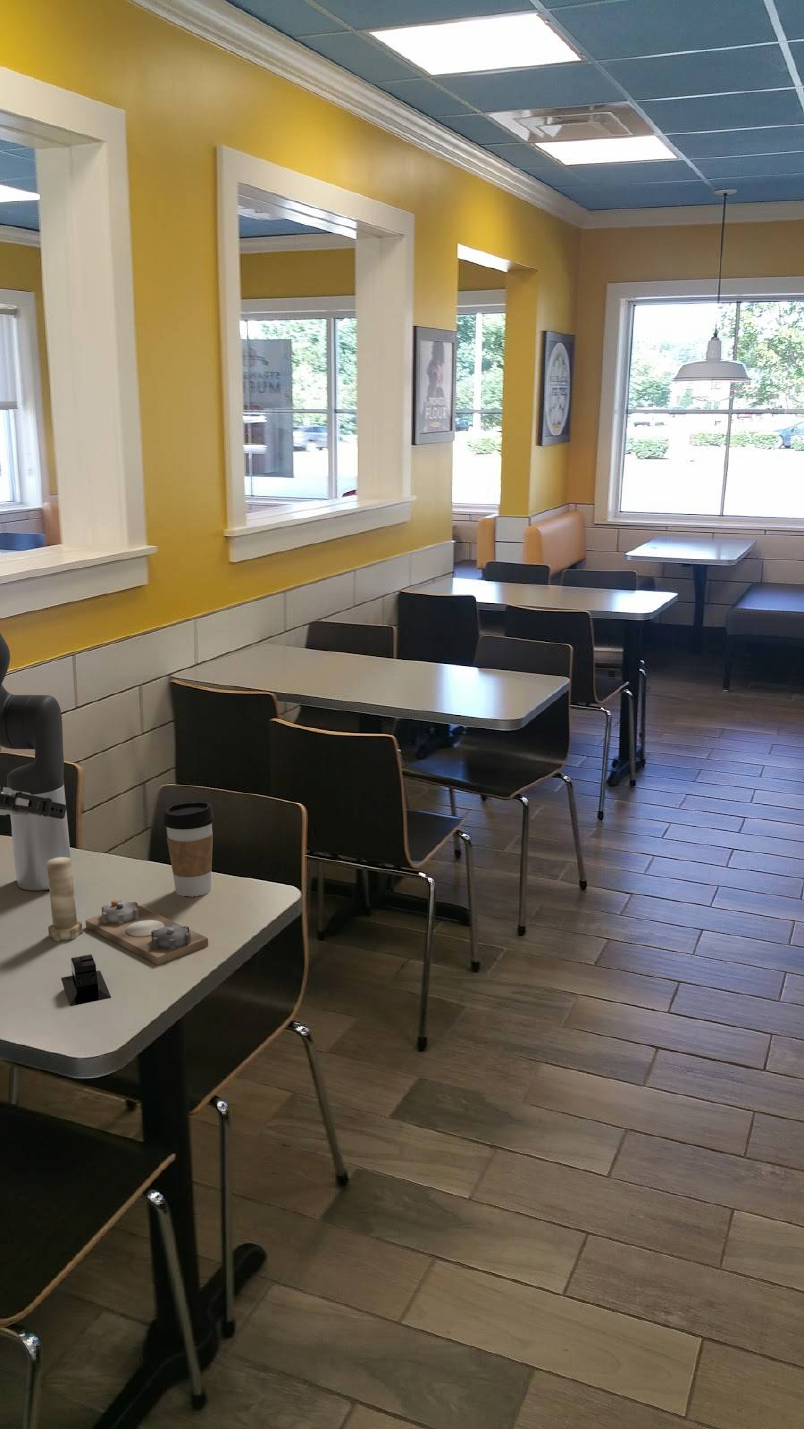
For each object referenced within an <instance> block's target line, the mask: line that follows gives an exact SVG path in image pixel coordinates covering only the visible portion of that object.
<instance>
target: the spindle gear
mask: <svg viewBox="0 0 804 1429" xmlns="http://www.w3.org/2000/svg"><path fill="white" fill-rule="evenodd" d="M72 862H73V861H72V858H71V859H70V858H67V857H59V858H54V859H51V860H49V861H48V862H47V869H48V880H49V889H48V890H49V900H50V907H51V908H50V909H51V918H52V920H51V921H52V923H51V924H50V925H48V928H47V929H48V938H51V939H53V940H54V941H55V942H56V941H57V942H60V941H67V940H75V939H77V937H79V935H80V934H83V922H82V921H80V920H78V918H77V908H76V897H75V887H74V885H75V884H74V876H73V875H74V873H73V865H72Z"/></svg>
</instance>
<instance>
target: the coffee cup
mask: <svg viewBox="0 0 804 1429" xmlns="http://www.w3.org/2000/svg"><path fill="white" fill-rule="evenodd" d="M162 820H163V825H164V827H165V828H166V841H167V847H168V854H169V858H170V864H171V865H170V866H171V870H172V874H173V875H172V876H173V881H174V888H175V890H174V891H175V893H176V894H177V895H178V896H180V895H181V896H180V897H184V896H189V897H188V898H194V897H193V896H196V897H200V896H199V895H201V896H204V895H207V894H208V893H210V892H209V891H211V890H212V868H213V865H212V864H213V862H212V861H213V846H214V845H213V841H214V840H213V839H214V838H213V837H214V831H213V823H214V821H215V815H214V812H213V807H212V804H211V803H210V802H208V801H192V802H191V801H190V802H181V803H175V804H172V805H170V806H168V807H166V808H165V809H164V813H163V819H162ZM190 896H192V897H190Z"/></svg>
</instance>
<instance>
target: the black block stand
mask: <svg viewBox="0 0 804 1429" xmlns="http://www.w3.org/2000/svg"><path fill="white" fill-rule="evenodd" d="M70 963H71V964H70V966H71V975H68V976H64V977H61V978H60V980H61V982H62V987H63V989H64V993H65V995H66V998H67V1003H68V1005H69V1007H74V1006H79V1005H83V1004H89V1003H93V1002H99V1001H103V1000H108V999H111V998H112V995H111V993H110V991H109V988H108V986H107V984H106V981H105V979H104V976H103V973H102V971H101V970H97V965H96V962H95V960H94V957H93V954H92V953H90V954H85V955H80V956H75V957H71V958H70Z"/></svg>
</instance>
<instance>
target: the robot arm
mask: <svg viewBox="0 0 804 1429" xmlns="http://www.w3.org/2000/svg"><path fill="white" fill-rule="evenodd" d="M8 645H9V644H8V643H7V642H6V640H5V638H4V636H3V635H2V634H1V632H0V747H2V748H4V749H10V750H34V760H33V761H32V762H29V763H27V764H24V765H21V766H19V767H16V768H14V769H12V770H11V771H10V772H8V773H7V776H6V787H5V786H0V815H1V816H6V815H10V823H11V837H12V846H13V847H12V850H13V860H14V867H15V879H16V882H17V886H18V887H19V888H20V889H23V890H27V891H45V890H49V880H48V869H47V862H48V861H49V860H51V859H54V858H59V857H67V858H70V859H71V860H72V858H71V857H72V856H71V848H70V837H69V824H68V815H67V814H68V813H67V805H66V804H67V803H66V802H67V801H66V793H65V792H66V790H65V780H64V768H65V762H64V761H65V756H64V736H63V735H64V733H63V732H64V730H63V716H62V709H61V706H60V704H59V701H58V699H57V698H55V697H54V696H52V695H49V694H48V695H47V694H12V693H11V692H9V691H7V690H6V688H5V686H4V685H3V682H4V680H5V678H6V676H7V673H8V670H9V667H10V662H11V652H10V649H9V646H8Z"/></svg>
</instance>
